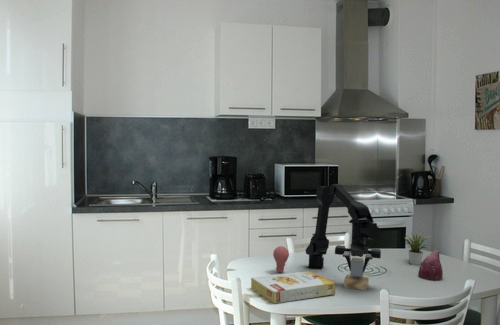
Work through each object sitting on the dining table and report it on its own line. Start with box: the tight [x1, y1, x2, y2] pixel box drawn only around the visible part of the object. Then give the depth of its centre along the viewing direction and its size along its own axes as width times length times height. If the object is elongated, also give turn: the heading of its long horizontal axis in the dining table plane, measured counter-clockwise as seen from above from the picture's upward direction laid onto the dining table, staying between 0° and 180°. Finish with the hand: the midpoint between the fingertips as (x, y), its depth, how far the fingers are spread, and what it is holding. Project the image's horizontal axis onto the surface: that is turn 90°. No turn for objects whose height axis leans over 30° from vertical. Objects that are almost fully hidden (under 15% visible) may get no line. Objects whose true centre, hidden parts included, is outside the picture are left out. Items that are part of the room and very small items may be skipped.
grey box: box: [349, 257, 365, 277], centre depth 204 cm, size 5×5×7 cm
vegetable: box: [417, 248, 444, 282], centre depth 220 cm, size 10×10×15 cm
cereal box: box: [250, 270, 336, 304], centre depth 195 cm, size 20×6×28 cm
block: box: [343, 273, 370, 291], centre depth 205 cm, size 9×9×4 cm
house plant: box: [404, 232, 432, 266], centre depth 244 cm, size 14×14×16 cm
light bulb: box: [272, 245, 290, 273], centre depth 221 cm, size 7×7×12 cm
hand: (356, 271), depth 204 cm, fingers closed on grey box, 5 cm apart
